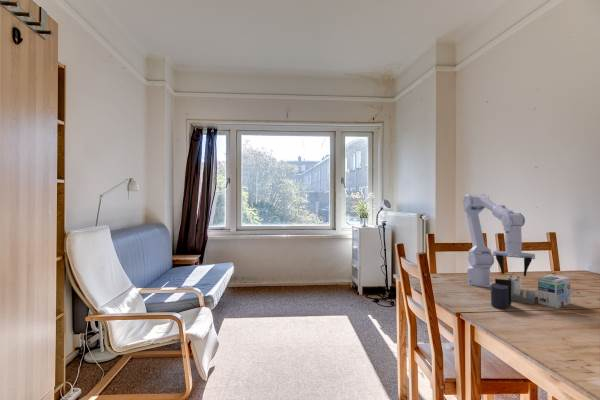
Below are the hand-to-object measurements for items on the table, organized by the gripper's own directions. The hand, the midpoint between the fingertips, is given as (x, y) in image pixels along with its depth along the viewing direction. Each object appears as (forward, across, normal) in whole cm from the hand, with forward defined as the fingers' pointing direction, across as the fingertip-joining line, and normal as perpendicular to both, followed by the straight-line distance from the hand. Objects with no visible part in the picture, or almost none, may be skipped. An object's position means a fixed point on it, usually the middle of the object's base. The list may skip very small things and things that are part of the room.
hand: (513, 274), depth 134 cm
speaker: (+10, -3, -15) cm, 18 cm away
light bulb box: (+10, +13, -1) cm, 17 cm away
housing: (+7, 0, -1) cm, 7 cm away
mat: (+10, +3, +11) cm, 15 cm away
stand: (+10, 0, 0) cm, 10 cm away
